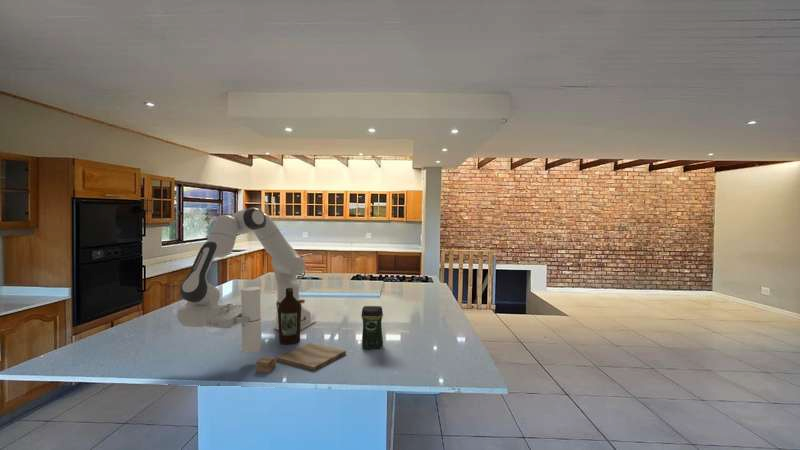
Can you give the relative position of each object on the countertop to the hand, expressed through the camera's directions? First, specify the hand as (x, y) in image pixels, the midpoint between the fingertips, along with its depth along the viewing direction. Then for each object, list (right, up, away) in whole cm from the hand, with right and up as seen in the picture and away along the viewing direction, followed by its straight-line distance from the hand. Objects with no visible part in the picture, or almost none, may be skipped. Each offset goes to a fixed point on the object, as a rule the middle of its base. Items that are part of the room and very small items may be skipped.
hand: (253, 316), depth 154 cm
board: (+22, -18, +6) cm, 30 cm away
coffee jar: (+47, -18, +18) cm, 54 cm away
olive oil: (+7, -18, +26) cm, 32 cm away
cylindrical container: (-1, -14, +1) cm, 14 cm away
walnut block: (+8, -19, -7) cm, 21 cm away
